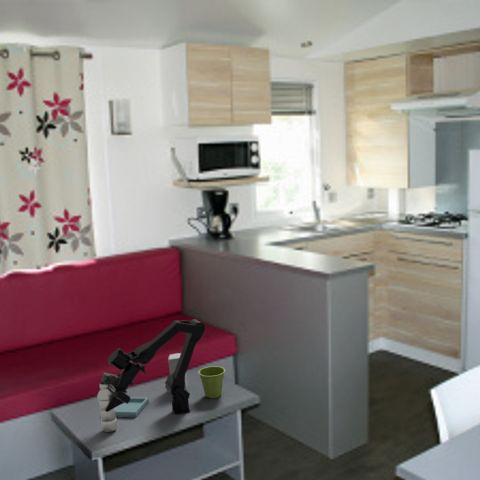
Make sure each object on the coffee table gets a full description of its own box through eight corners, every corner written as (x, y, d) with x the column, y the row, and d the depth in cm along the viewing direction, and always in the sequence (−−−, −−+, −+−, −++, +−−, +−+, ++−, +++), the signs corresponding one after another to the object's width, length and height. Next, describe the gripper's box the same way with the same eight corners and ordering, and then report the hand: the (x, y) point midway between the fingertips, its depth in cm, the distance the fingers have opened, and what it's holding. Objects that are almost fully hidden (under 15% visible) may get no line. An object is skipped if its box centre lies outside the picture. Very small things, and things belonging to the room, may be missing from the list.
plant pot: (210, 403, 285) (208, 378, 283) (195, 395, 294) (192, 371, 292) (232, 394, 292) (230, 370, 290) (216, 387, 301) (214, 364, 299)
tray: (148, 402, 291) (148, 397, 290) (136, 417, 277) (135, 412, 276) (117, 401, 294) (117, 397, 294) (103, 416, 280) (103, 411, 280)
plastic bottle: (114, 434, 262) (109, 386, 259) (98, 433, 264) (93, 386, 260) (121, 426, 269) (115, 379, 265) (105, 426, 270) (99, 379, 266)
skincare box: (186, 391, 299) (183, 358, 296) (170, 392, 299) (167, 359, 297) (188, 384, 307) (185, 351, 305) (172, 385, 308) (169, 353, 305)
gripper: (105, 358, 272) (82, 391, 269) (119, 372, 255) (94, 406, 252) (126, 372, 276) (103, 404, 274) (140, 386, 260) (116, 420, 257)
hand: (103, 408), depth 264 cm, fingers closed on plastic bottle, 6 cm apart
